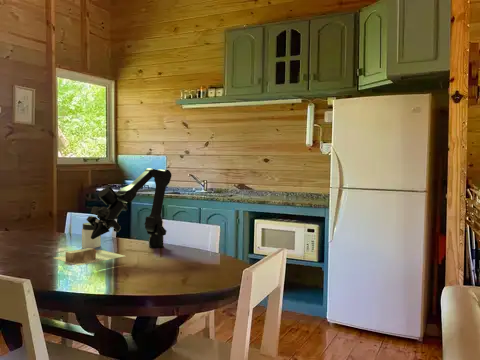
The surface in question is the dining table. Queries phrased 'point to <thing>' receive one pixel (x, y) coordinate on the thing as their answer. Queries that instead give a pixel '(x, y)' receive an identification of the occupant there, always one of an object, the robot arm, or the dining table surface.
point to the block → (80, 255)
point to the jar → (89, 237)
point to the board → (100, 256)
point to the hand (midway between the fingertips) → (91, 238)
